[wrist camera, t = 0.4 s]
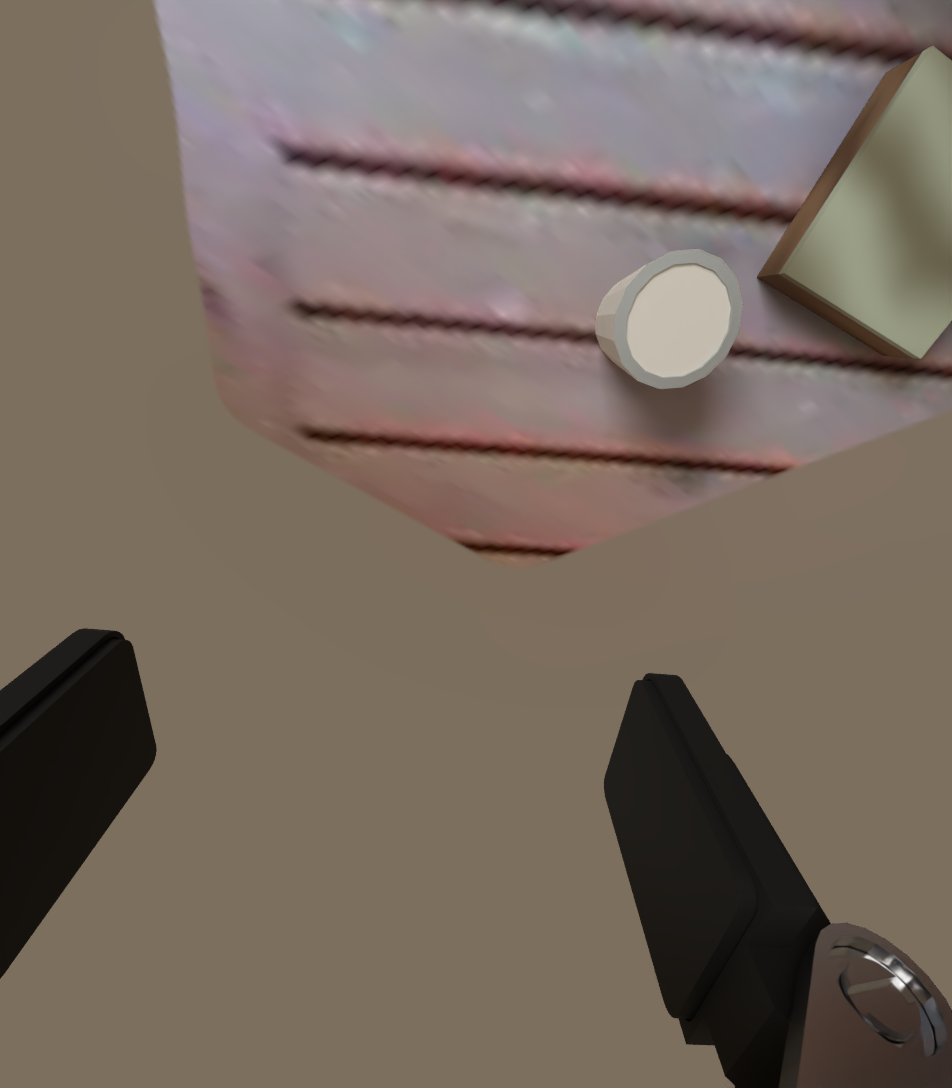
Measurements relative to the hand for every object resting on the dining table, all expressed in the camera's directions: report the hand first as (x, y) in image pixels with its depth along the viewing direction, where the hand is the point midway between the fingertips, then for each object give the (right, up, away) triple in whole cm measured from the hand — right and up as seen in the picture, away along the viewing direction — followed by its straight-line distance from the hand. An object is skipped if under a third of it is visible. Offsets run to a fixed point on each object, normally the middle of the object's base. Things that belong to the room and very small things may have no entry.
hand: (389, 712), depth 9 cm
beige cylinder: (+12, +18, +23) cm, 32 cm away
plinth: (+27, +23, +21) cm, 41 cm away
